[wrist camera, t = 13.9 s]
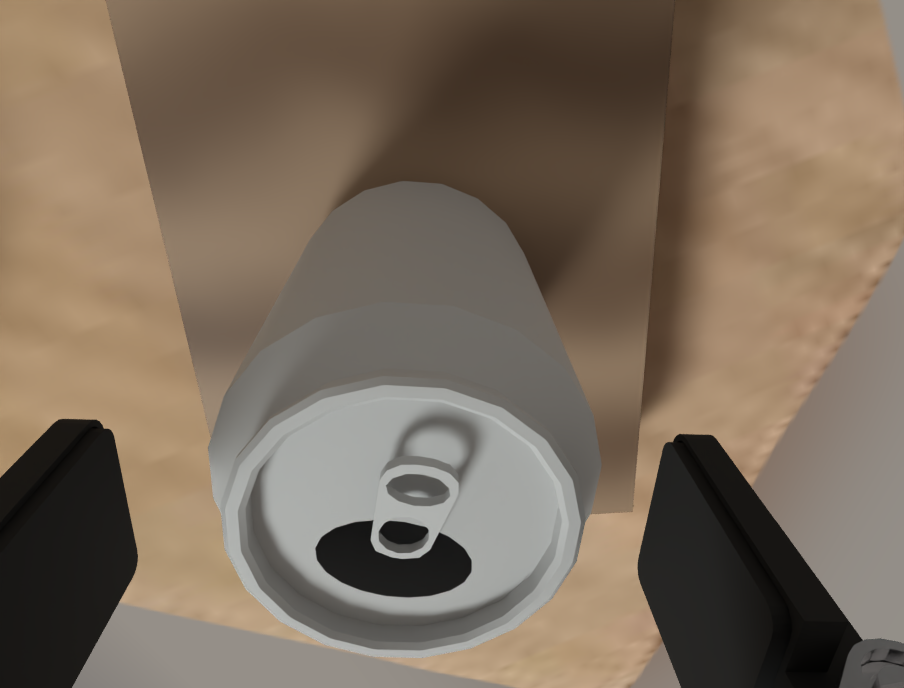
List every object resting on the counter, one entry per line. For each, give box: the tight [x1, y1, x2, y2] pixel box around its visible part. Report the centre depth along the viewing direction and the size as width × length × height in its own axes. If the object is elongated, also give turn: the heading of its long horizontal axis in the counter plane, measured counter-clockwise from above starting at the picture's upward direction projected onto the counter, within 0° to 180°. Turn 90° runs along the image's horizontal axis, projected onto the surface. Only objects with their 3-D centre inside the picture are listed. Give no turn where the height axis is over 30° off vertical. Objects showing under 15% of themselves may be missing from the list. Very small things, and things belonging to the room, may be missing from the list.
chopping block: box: [106, 0, 675, 514], centre depth 24 cm, size 20×16×5 cm
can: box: [208, 181, 602, 658], centre depth 16 cm, size 8×8×12 cm
